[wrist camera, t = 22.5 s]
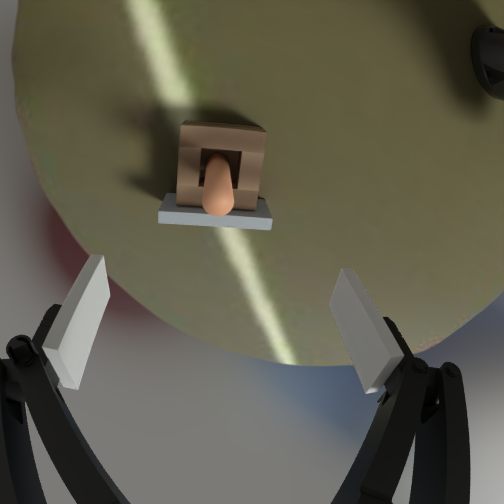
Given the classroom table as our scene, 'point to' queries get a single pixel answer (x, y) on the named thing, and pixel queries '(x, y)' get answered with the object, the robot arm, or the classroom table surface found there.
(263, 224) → the base
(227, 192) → the dowel
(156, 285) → the classroom table surface
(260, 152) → the block
